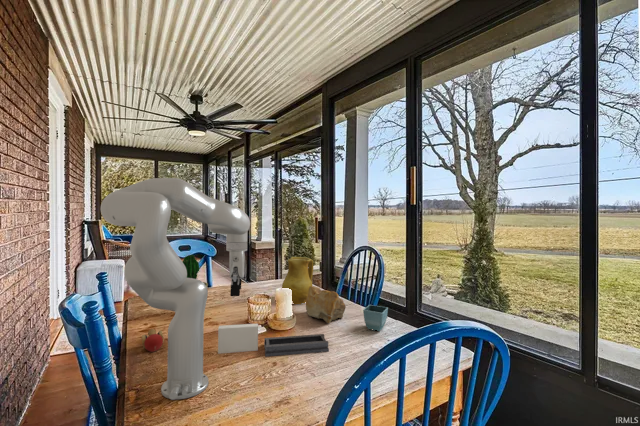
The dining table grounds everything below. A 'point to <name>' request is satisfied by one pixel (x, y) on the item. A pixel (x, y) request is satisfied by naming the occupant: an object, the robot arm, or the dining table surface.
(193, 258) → the potted cactus
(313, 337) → the floor track
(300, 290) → the pitcher
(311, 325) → the dining table surface
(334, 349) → the dining table surface
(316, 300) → the rough brown rock
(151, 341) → the kendama
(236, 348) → the door panel
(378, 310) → the flower pot
